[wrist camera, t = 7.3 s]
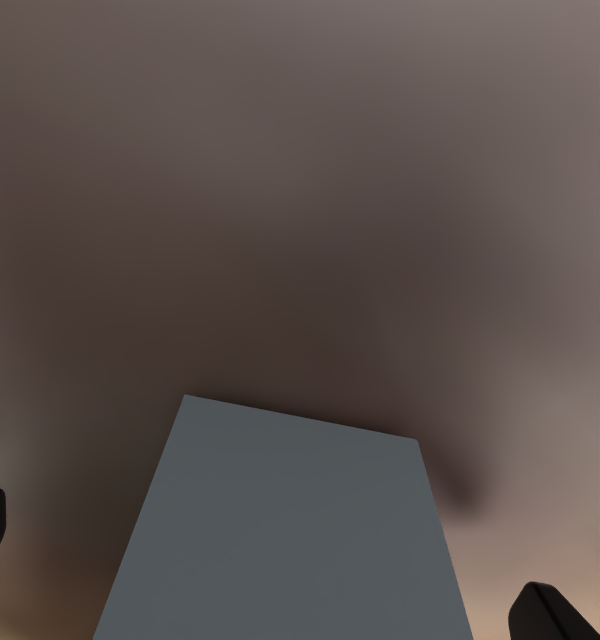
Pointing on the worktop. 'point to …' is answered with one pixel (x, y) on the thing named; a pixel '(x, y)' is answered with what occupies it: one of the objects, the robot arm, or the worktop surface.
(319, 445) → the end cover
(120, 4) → the worktop surface
